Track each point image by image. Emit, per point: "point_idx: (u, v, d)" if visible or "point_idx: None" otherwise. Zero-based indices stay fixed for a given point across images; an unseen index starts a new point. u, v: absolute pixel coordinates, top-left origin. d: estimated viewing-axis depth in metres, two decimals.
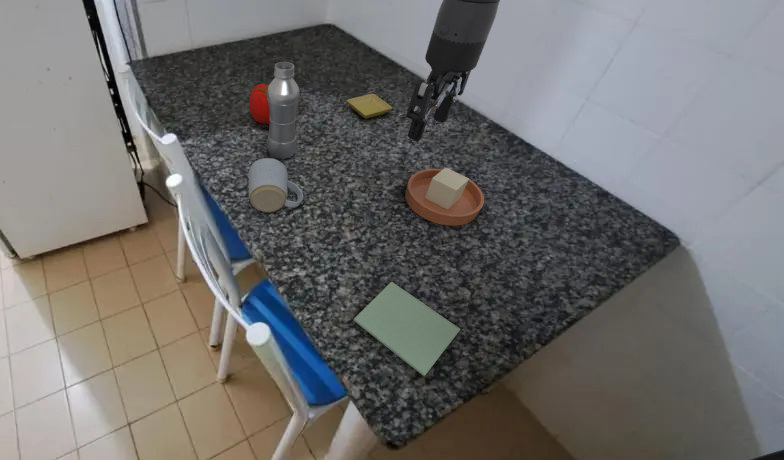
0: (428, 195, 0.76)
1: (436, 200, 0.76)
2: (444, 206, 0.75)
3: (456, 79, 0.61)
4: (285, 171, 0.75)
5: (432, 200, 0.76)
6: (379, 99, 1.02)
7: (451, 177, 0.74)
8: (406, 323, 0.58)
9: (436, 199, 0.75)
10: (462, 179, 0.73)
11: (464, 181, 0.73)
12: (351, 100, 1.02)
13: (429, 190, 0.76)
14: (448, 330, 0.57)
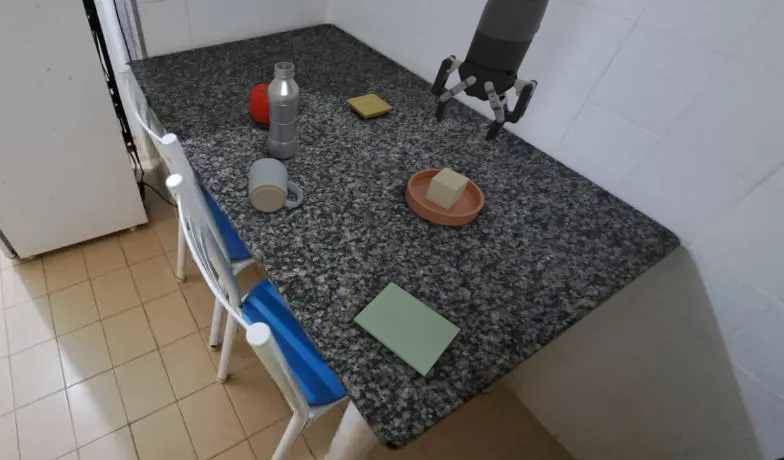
0: (428, 195, 0.76)
1: (436, 200, 0.76)
2: (444, 206, 0.75)
3: (486, 81, 0.59)
4: (285, 171, 0.75)
5: (432, 200, 0.76)
6: (379, 99, 1.02)
7: (451, 177, 0.74)
8: (406, 323, 0.58)
9: (436, 199, 0.75)
10: (462, 179, 0.73)
11: (464, 181, 0.73)
12: (351, 100, 1.02)
13: (429, 190, 0.76)
14: (448, 330, 0.57)
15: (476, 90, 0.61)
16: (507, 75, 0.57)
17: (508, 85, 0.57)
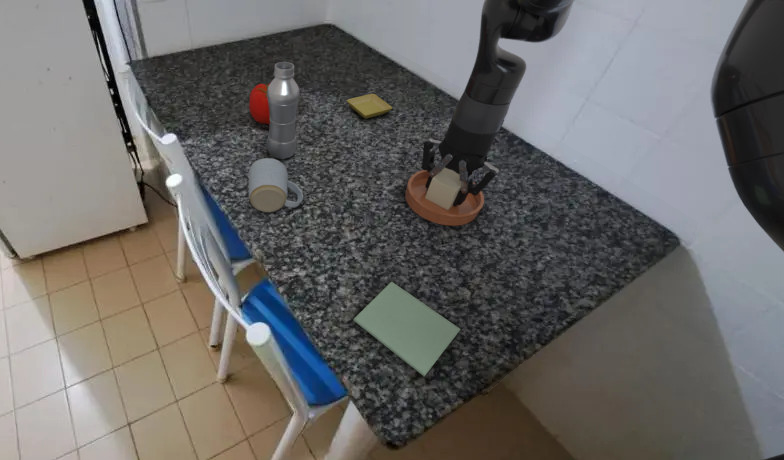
0: (428, 195, 0.76)
1: (436, 200, 0.76)
2: (444, 206, 0.75)
3: (461, 160, 0.69)
4: (285, 171, 0.75)
5: (432, 200, 0.76)
6: (379, 99, 1.02)
7: (451, 177, 0.74)
8: (406, 323, 0.58)
9: (436, 199, 0.75)
10: None
11: None
12: (351, 100, 1.02)
13: (429, 190, 0.76)
14: (448, 330, 0.57)
15: (453, 165, 0.71)
16: (478, 157, 0.67)
17: (478, 166, 0.67)
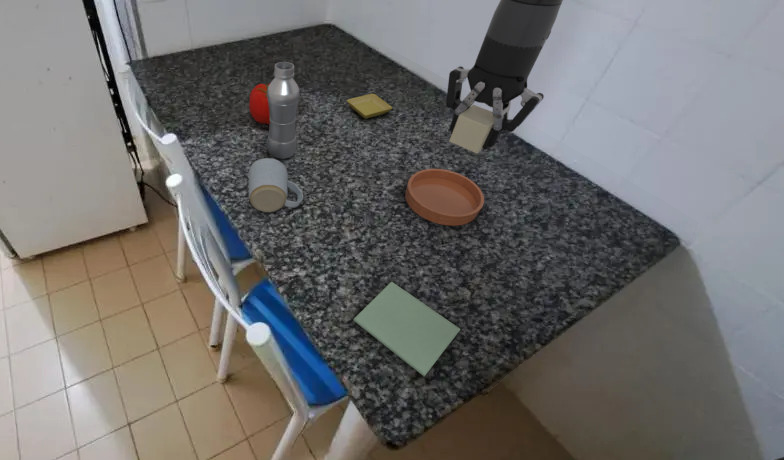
0: (453, 137, 0.66)
1: (463, 142, 0.65)
2: (472, 148, 0.64)
3: (495, 87, 0.58)
4: (285, 171, 0.75)
5: (458, 143, 0.65)
6: (379, 99, 1.02)
7: (482, 114, 0.63)
8: (406, 323, 0.58)
9: (463, 141, 0.65)
10: None
11: None
12: (351, 100, 1.02)
13: (454, 131, 0.65)
14: (448, 330, 0.57)
15: (485, 96, 0.60)
16: (516, 81, 0.56)
17: (516, 93, 0.57)
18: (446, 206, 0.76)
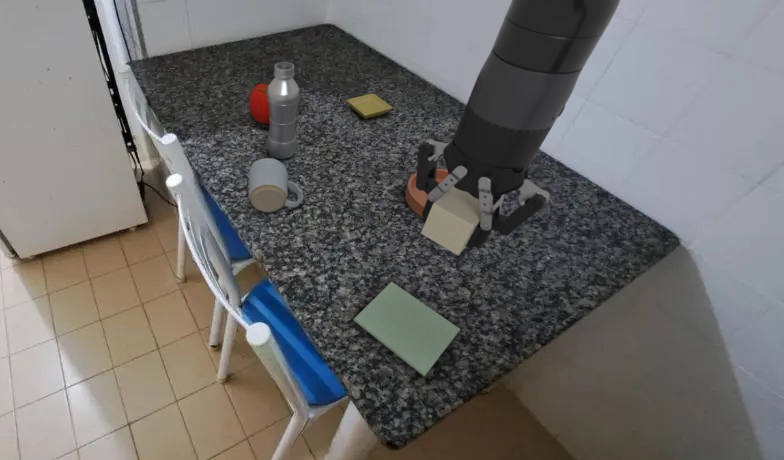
0: (426, 230, 0.47)
1: (439, 239, 0.47)
2: (452, 248, 0.46)
3: (482, 176, 0.40)
4: (285, 171, 0.75)
5: (433, 238, 0.47)
6: (379, 99, 1.02)
7: (465, 202, 0.45)
8: (406, 323, 0.58)
9: (439, 236, 0.47)
10: None
11: None
12: (351, 100, 1.02)
13: (427, 222, 0.47)
14: (448, 330, 0.57)
15: (468, 184, 0.42)
16: (512, 172, 0.38)
17: (512, 186, 0.39)
18: None
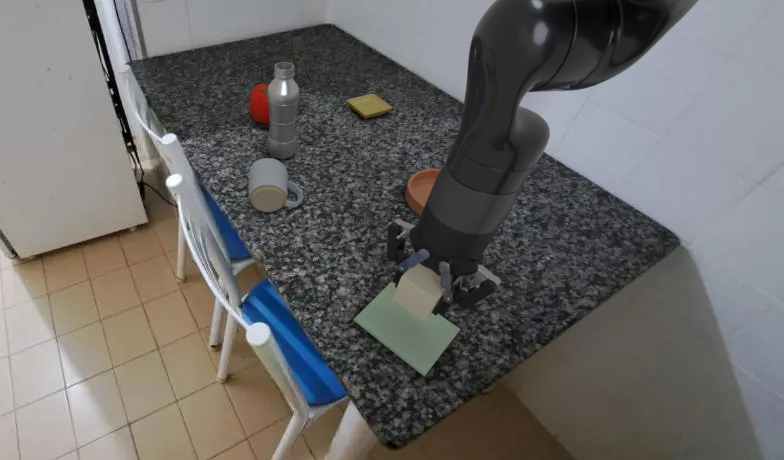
0: (397, 296, 0.52)
1: (408, 305, 0.51)
2: (419, 315, 0.51)
3: (442, 260, 0.44)
4: (285, 171, 0.75)
5: (402, 304, 0.52)
6: (379, 99, 1.02)
7: (430, 274, 0.50)
8: (406, 323, 0.58)
9: (408, 304, 0.51)
10: None
11: None
12: (351, 100, 1.02)
13: (397, 291, 0.51)
14: (448, 330, 0.57)
15: (431, 263, 0.46)
16: (468, 260, 0.42)
17: (468, 271, 0.43)
18: None
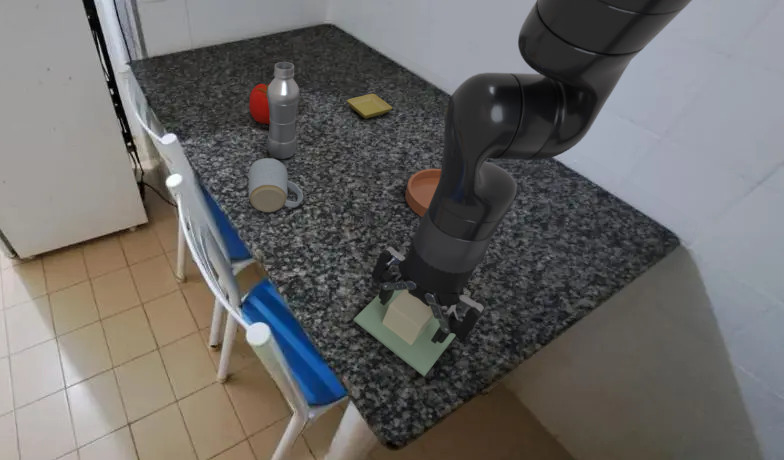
0: (386, 322, 0.57)
1: (396, 330, 0.56)
2: (406, 339, 0.55)
3: (427, 291, 0.49)
4: (285, 171, 0.75)
5: (391, 329, 0.57)
6: (379, 99, 1.02)
7: (415, 303, 0.54)
8: None
9: (396, 329, 0.56)
10: (430, 307, 0.54)
11: None
12: (351, 100, 1.02)
13: (386, 317, 0.56)
14: None
15: (418, 293, 0.51)
16: (450, 293, 0.47)
17: (452, 302, 0.48)
18: None
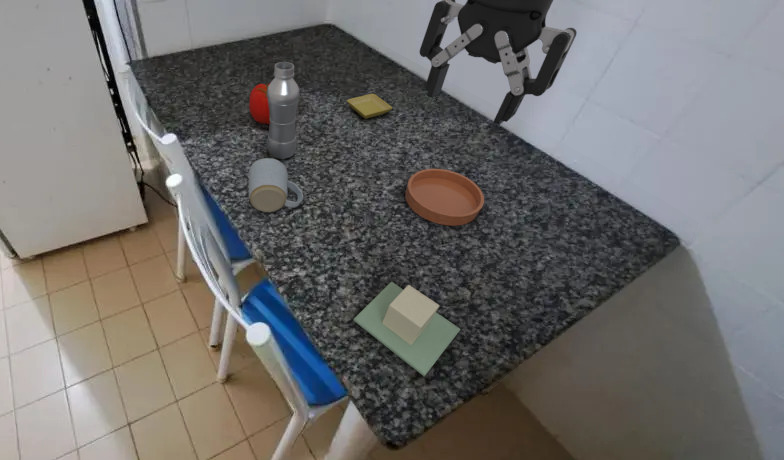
0: (386, 322, 0.57)
1: (396, 330, 0.56)
2: (406, 339, 0.55)
3: (498, 31, 0.39)
4: (285, 171, 0.75)
5: (391, 329, 0.57)
6: (379, 99, 1.02)
7: (415, 303, 0.54)
8: None
9: (396, 329, 0.56)
10: (430, 307, 0.54)
11: (432, 310, 0.54)
12: (351, 100, 1.02)
13: (386, 317, 0.56)
14: (448, 330, 0.57)
15: (483, 47, 0.41)
16: (530, 20, 0.37)
17: (531, 36, 0.38)
18: (446, 206, 0.76)
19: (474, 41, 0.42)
